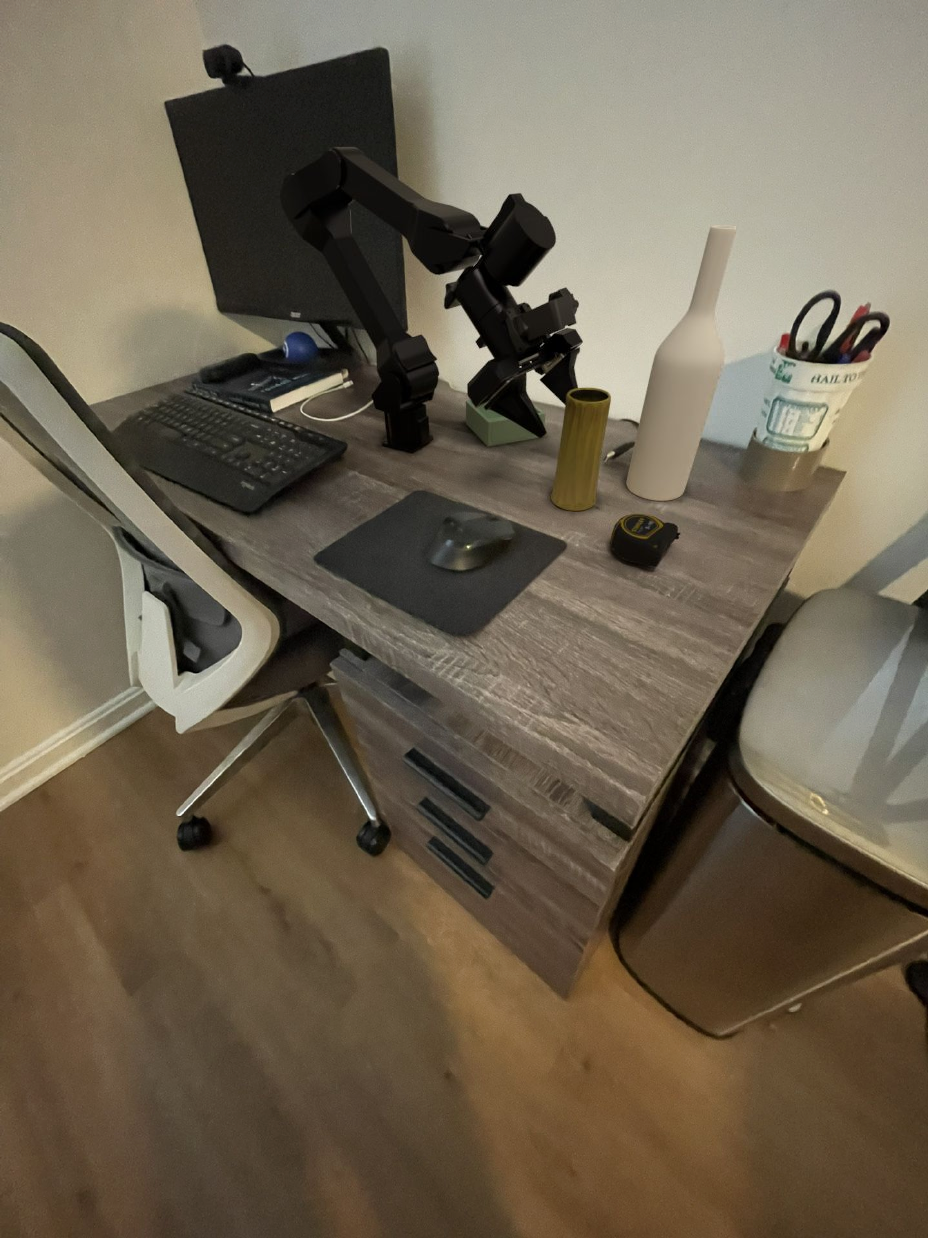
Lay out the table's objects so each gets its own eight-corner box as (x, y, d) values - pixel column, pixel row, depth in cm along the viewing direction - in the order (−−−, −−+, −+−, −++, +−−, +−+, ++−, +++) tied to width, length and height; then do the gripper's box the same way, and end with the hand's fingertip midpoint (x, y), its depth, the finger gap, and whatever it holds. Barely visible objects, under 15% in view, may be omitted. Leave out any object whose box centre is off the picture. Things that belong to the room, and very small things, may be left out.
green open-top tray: (487, 446, 85) (488, 422, 82) (465, 423, 92) (465, 400, 89) (543, 437, 87) (545, 413, 85) (517, 415, 94) (519, 392, 92)
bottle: (616, 490, 74) (671, 227, 53) (639, 469, 78) (698, 220, 58) (671, 507, 70) (753, 232, 50) (692, 484, 75) (774, 224, 54)
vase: (602, 496, 72) (622, 391, 63) (585, 516, 69) (603, 407, 59) (562, 485, 75) (575, 382, 65) (543, 503, 71) (554, 397, 61)
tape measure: (653, 577, 59) (662, 550, 56) (598, 556, 62) (604, 529, 59) (675, 549, 63) (684, 523, 60) (622, 531, 66) (629, 505, 63)
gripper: (488, 276, 52) (571, 411, 54) (579, 252, 63) (644, 366, 65) (433, 348, 61) (506, 461, 63) (521, 317, 72) (580, 414, 74)
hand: (562, 423), depth 66 cm, fingers open, 9 cm apart
